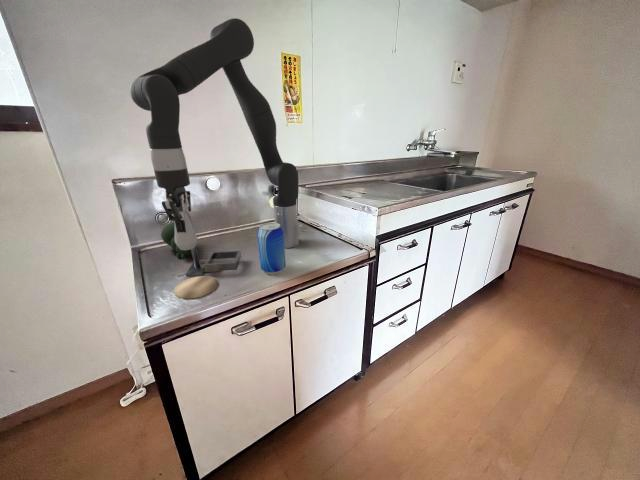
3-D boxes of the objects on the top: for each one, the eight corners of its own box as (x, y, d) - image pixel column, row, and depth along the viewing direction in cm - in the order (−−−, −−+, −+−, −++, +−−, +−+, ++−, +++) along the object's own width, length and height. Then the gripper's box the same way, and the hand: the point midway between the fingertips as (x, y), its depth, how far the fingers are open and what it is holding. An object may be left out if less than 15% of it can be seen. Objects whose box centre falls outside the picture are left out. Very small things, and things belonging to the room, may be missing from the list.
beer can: (274, 278, 85) (270, 232, 79) (256, 271, 89) (250, 227, 83) (290, 267, 91) (288, 224, 85) (272, 262, 95) (268, 220, 89)
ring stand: (241, 260, 97) (234, 202, 88) (237, 273, 88) (228, 210, 79) (195, 263, 95) (182, 204, 87) (185, 277, 86) (170, 212, 77)
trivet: (221, 276, 86) (221, 274, 86) (212, 297, 75) (211, 295, 75) (182, 278, 85) (182, 277, 85) (167, 300, 74) (167, 298, 74)
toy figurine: (207, 262, 99) (183, 239, 115) (200, 215, 91) (175, 197, 107) (181, 270, 93) (159, 245, 109) (171, 221, 85) (148, 201, 101)
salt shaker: (202, 243, 77) (194, 200, 72) (192, 252, 72) (182, 206, 67) (184, 243, 78) (174, 200, 73) (172, 251, 73) (160, 205, 68)
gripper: (175, 170, 60) (190, 239, 67) (194, 163, 73) (205, 222, 80) (140, 171, 60) (159, 241, 66) (166, 164, 72) (179, 223, 79)
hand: (184, 230), depth 73 cm, fingers closed on salt shaker, 3 cm apart
